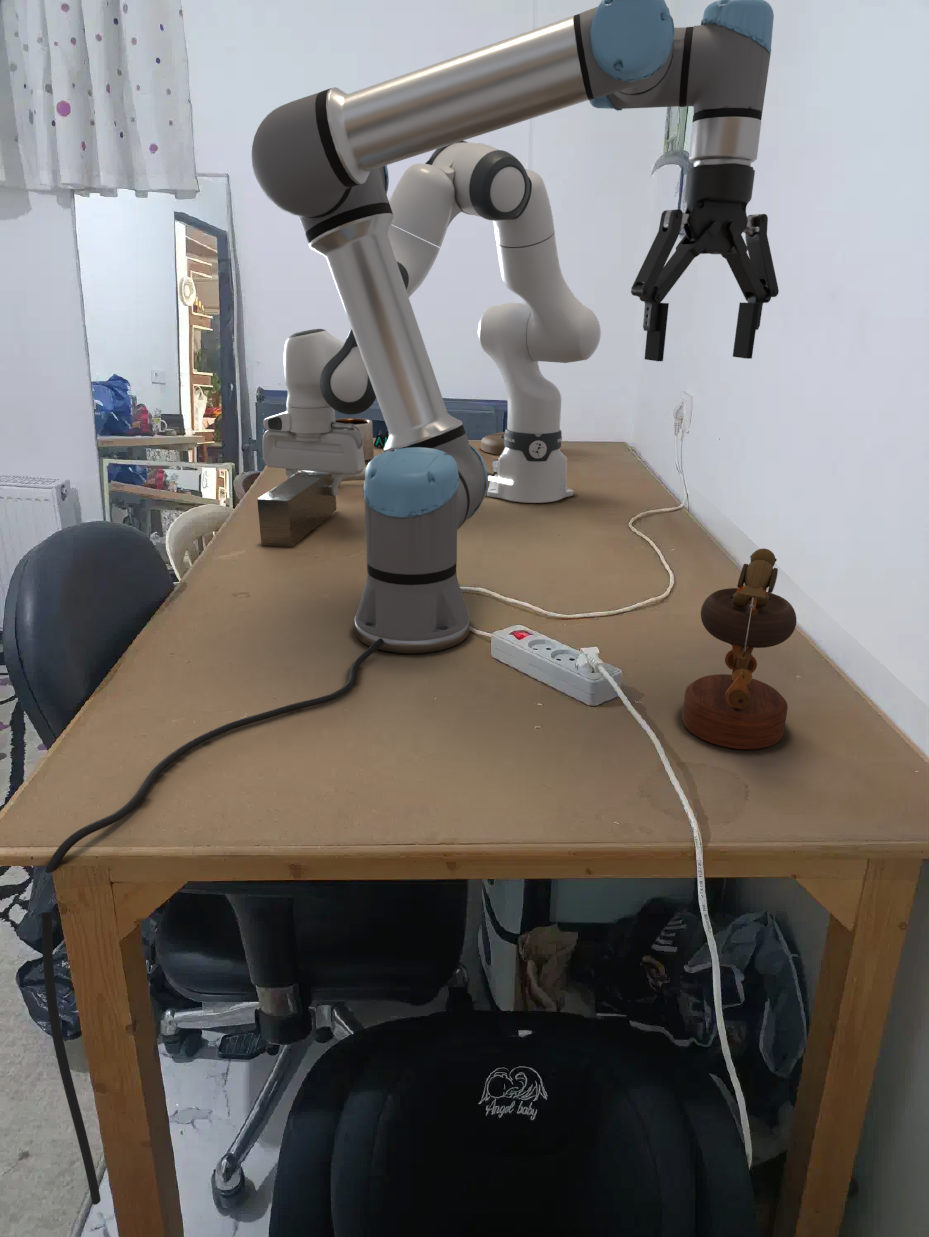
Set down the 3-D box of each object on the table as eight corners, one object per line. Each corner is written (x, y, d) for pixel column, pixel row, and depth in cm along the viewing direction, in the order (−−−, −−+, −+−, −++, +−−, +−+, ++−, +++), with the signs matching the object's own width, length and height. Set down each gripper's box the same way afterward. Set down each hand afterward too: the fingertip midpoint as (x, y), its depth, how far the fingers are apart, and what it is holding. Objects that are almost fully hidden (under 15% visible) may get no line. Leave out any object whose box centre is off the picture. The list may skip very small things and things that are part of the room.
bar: (291, 547, 146) (288, 500, 143) (261, 545, 147) (257, 498, 144) (336, 509, 167) (334, 468, 164) (309, 508, 168) (307, 466, 165)
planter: (327, 456, 217) (325, 418, 214) (369, 454, 220) (368, 417, 217) (334, 465, 208) (332, 425, 204) (377, 463, 211) (376, 424, 207)
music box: (804, 761, 84) (822, 570, 76) (690, 761, 85) (697, 574, 78) (770, 691, 98) (782, 524, 90) (673, 692, 99) (677, 527, 92)
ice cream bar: (486, 465, 210) (486, 448, 209) (479, 444, 236) (479, 428, 235) (570, 465, 211) (571, 449, 210) (554, 444, 237) (554, 429, 236)
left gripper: (781, 175, 105) (756, 354, 113) (610, 161, 95) (596, 358, 103) (828, 169, 98) (797, 359, 106) (650, 154, 89) (632, 364, 97)
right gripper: (369, 422, 157) (371, 494, 163) (273, 414, 164) (278, 485, 169) (354, 427, 152) (356, 502, 157) (255, 419, 158) (261, 492, 163)
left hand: (698, 359), depth 105 cm, fingers open, 13 cm apart
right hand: (315, 493), depth 163 cm, fingers open, 6 cm apart
